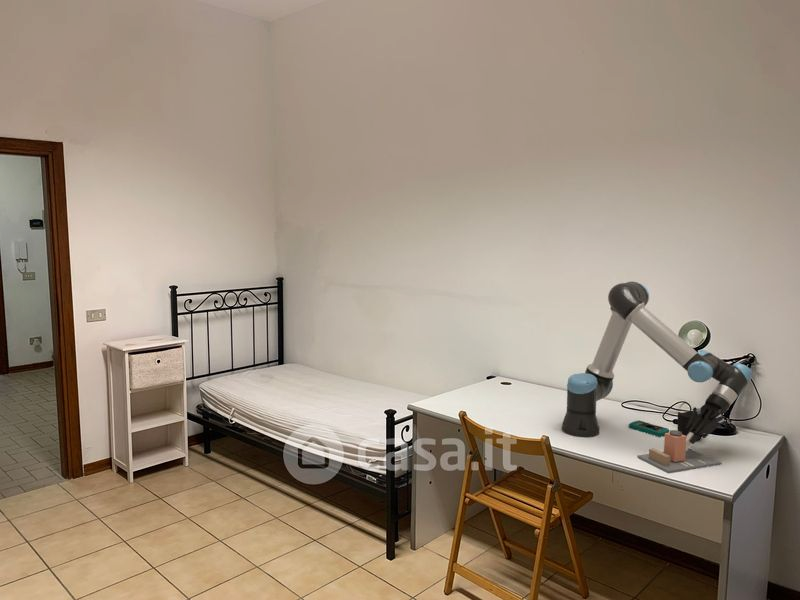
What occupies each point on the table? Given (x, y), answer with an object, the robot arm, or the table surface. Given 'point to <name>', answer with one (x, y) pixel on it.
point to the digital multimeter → (648, 428)
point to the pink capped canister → (675, 445)
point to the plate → (691, 461)
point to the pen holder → (684, 422)
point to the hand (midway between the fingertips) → (682, 448)
